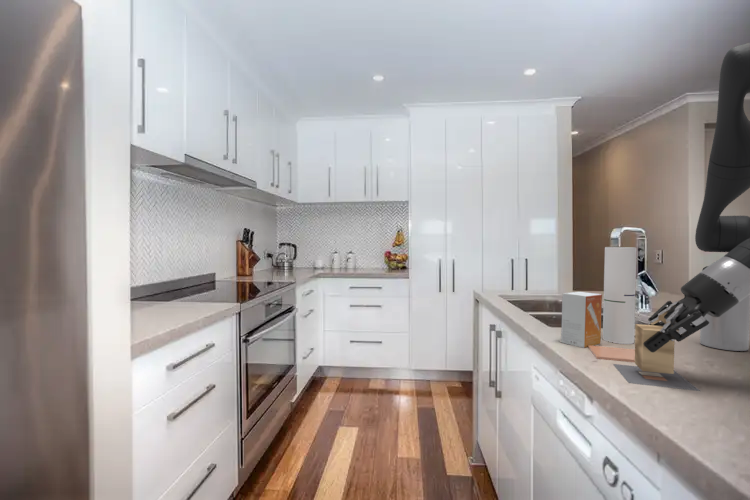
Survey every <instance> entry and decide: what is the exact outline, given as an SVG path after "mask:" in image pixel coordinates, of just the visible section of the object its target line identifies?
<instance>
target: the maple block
mask: <svg viewBox="0 0 750 500" xmlns="http://www.w3.org/2000/svg"><path fill="white" fill-rule="evenodd" d="M663 327H664V326H656V325H649V324H640V323H639V324H638V323H635V331H634V336H635V337H634V349H635V362H634V364H635V366H638V367H639V368H640V369H641V370H642V371H648V372H658V373H668V374H674V370H675V341H676V340H674V341H670V340H669V342H667V343H666V344H665V345H663V346H662V347H661V348H659V349H658V350H657V351H655V352H651V351H649V350H648V349H647V348H646V347H645V346H644V345H643V343H644V342H645V341H646V340H648V339H649V338H650V337H652V336H653V335H654V334H656V333H657V332H658V331H659V332H660V330H661V329H662V328H663ZM660 333H661V332H660Z"/></svg>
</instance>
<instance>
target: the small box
mask: <svg viewBox="0 0 750 500" xmlns="http://www.w3.org/2000/svg"><path fill="white" fill-rule="evenodd" d="M561 295H562V297H561V298H562V299H561V302H562V303H561V333H560V335H561V336H560V338H561V339H560V342H561V343H562V344H566V345H570V346H573V347H579V348H588V345H591V346H598V345H601V342H602V341H601V340H602V339H601V335H602V334H601V333H602V311H603V309H602V307H603V305H602V303H603V294H601V293H593V292H587V291H572V292H565V293H562V294H561Z"/></svg>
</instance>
